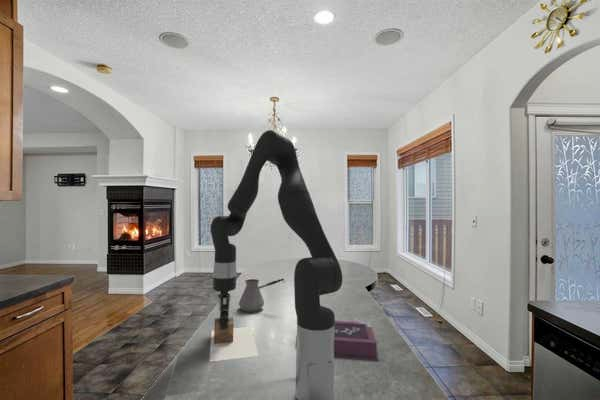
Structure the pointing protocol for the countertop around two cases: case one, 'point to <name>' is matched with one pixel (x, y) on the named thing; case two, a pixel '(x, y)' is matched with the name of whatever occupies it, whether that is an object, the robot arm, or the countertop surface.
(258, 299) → the coffee pot
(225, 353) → the board
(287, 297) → the countertop surface
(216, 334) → the brown wooden hollow cube
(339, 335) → the book
